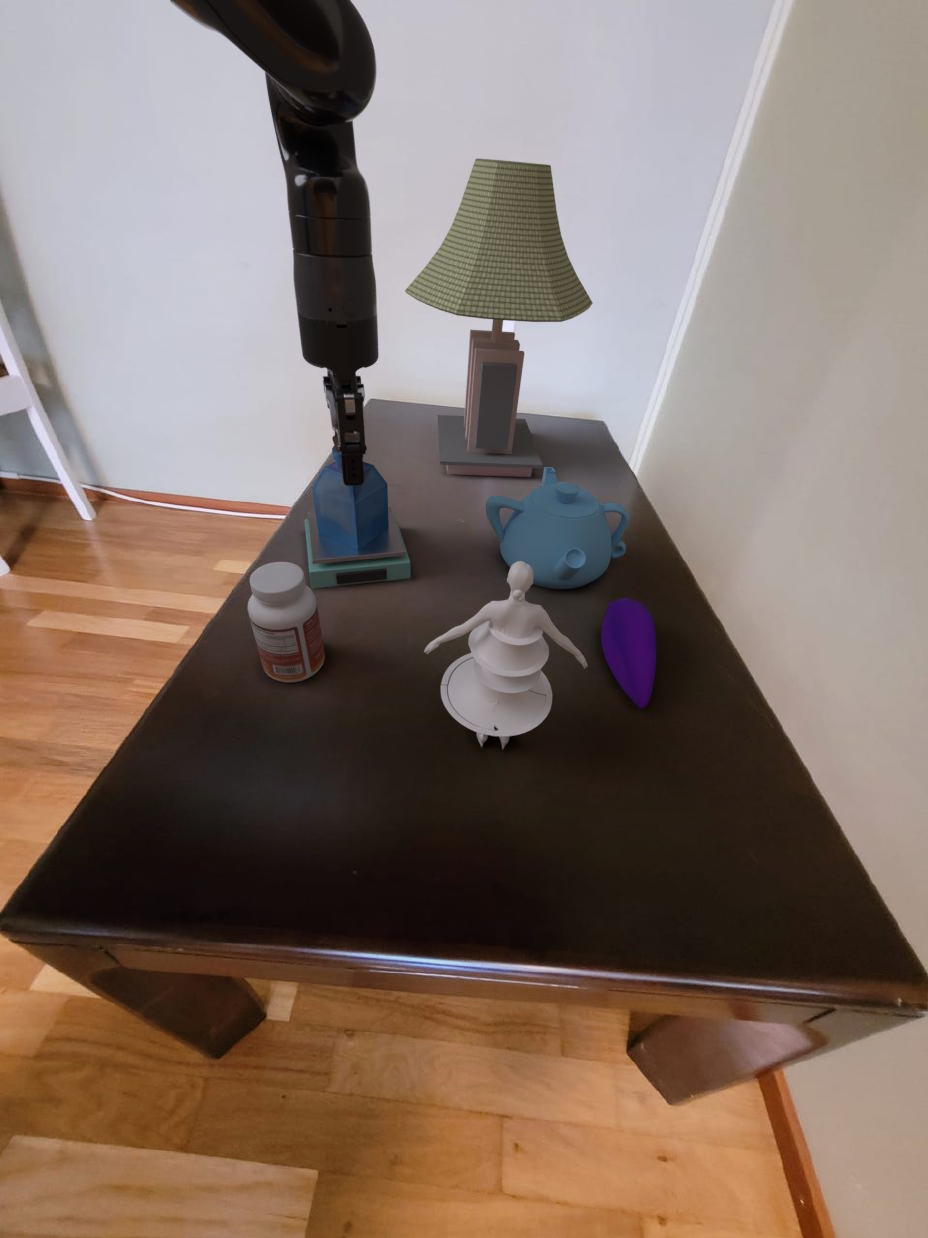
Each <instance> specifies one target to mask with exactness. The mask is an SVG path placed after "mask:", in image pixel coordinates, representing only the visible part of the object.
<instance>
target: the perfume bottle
mask: <svg viewBox="0 0 928 1238" xmlns="http://www.w3.org/2000/svg"><path fill="white" fill-rule="evenodd" d="M331 439H332V442H333V446H332V448H331V452H332V459H333V460H334V462H332V463H330V464H328V465H326V466H324V467H323V468H322V470H321V471H320V474H319V475H318V477H317V479H316V481H315V483H314V484H313V486H312V496H313V503H314V512H316V520H317V528H318V534H320V535H323V536H325V537H327V538H330V539H332V540H335V541H337V542H339V543H342V544H344V545H346V546H349V547H351V548H354V549H356V550H359V549H360V548H362V547H363V546H364V545H366V544H367V543H369V542H370V541H372V540H373V539H374V538H376V537H377V536H379V535H380V534H381V533H383V532H384V531H386V530H387V529H388V528H389V520H388V507H389V493H388V491H389V489H388V488H389V487H388V483H387V481H386V479H384V478H383V476H382V474H381V473H380V472H379V470H378V469H377V468H376V466H375V465H374V464H372V463H369V462H366V461H363V473H364V483H363V484H362V485H353V486H347V485H345V484H344V482H343V475H342V464H341V454H340V452H339V450H338V445H339V441H338V434H336V435H335V434H334V435H333V436H332V437H331ZM345 441H357V433H355V432H354V433H345ZM362 456H363V458H364V457H365V456H364V454H362Z"/></svg>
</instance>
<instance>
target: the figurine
mask: <svg viewBox="0 0 928 1238" xmlns="http://www.w3.org/2000/svg"><path fill="white" fill-rule="evenodd" d="M506 583H507V584H508V585H509V587H510V592H509V597H508V599H504V600H490V602H488V603H487V604H485V605H484V606H482V608H481V609H480V610H479V611H478V612H477V613H476V614H474V615H473V616H472V617H471V618H469V619H468V620H466V621H465V622H464V623H461V624H460V625H457V626H454V627H452V628H451V629H449V630H448V631H446V632H445V633H443V634H442V635H440V636H437V637H436V638H434V640H432V641H430V642H429V643H428V644H427V645H425V646H426V647H425V648H424V651H423V653H426V655H429V654H430V653H431V652H432V651H434V650H436V649H437V648H438V647H440V644H442V643H446V642H448V641H451V640H455V639H457V638H460V637H462V636H464V635H466V634H467V633H469V632H470V634H469V636H468V639H467V640H468V643H467V644H468V645H467V646H468V647H469V649H470V653H466V654H465V655H462V656H461V657H458V658H457V659H456V660H454V661H453V662H452V663H451V664H450V665H448V667H447V668H446V669H445V671H444V673H443V676H442V679H441V682H440V698H441V701H442V703H443V706H444V708H445V709H446V711H447V712H448V713H449V715H450V716H451V717H452V718H453V719H454V720H455V721H457V722H458V723H459V724H460V725H462V726H463V727H465V728H467V729H468V730H471V731H472V732H475V733H476V738H477V740H478V742H479V744H480V748H483V746H484V743H485V742H486V741H487V740H488V738H489V737H488V736H491V737H498V738H499V740H500V744H501V749H502V750H504V749H505V747H506V745H507V744H508V743H509V741H510V737H512V736H513V737H514V736H518V735H522V734H525V733H527V732H529V731H532V730H533V729H535V728H536V727H538V726H539V725H541V724H542V723H543V722H544V720H545V719H546V718H547V717H548V715H549V714H550V712H551V709H552V705H553V690H552V687H551V683H550V681H549V679H548V677H547V676H546V675H545V673H544V672H543V670H542V668H543V667H544V666H546V665H545V664H546V663H547V661H548V659H549V656H550V649H549V648H550V647H549V645H548V643H547V641H546V640H545V638H544V636H543V634H544V633H545V634H546V635H547V636H549V637H550V638H551V639H552V640H553V641H554V642H555V643H556V644H557V645H558V646H559V647H561V648H563V649H564V650H565V651H567V652H568V653H571V654H572V655H574V658H575V659H576V660H577V661H578V663H580V664H581V666H582V668H583V669H586V668H588V663H587V660H586V658H585V656H584V655H583V654H582V652H581V650H579V649H578V648H577V647H576V645H574V644H573V642H572V641H571V640H570V638H569V637H567V636H566V635H564V634H563V633H562V632H560V630H559V629H558V628H557V627H556V625H555V624H554V623H553V621H552V620H551V618H550V616H549V614H548V612H547V611H546V609H544V608H543V606H542V605H540V604H535V603H531V602H528V601H527V600H526V592H528V591H529V590H530V589H531V586H533V585H534V584H533V569H532V568H531V566H530V565H528V564H527V563H525V562H523V561H518V562H516V563H514V564H513V565H512V566H511V568H510V567H509V571H508V574H507V577H506ZM495 728H496V729H495Z"/></svg>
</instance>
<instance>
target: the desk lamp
mask: <svg viewBox="0 0 928 1238" xmlns="http://www.w3.org/2000/svg"><path fill="white" fill-rule="evenodd" d="M404 292H405V293H406V294H407V295H409V296H410V297H412V298H413V299H415V300H416V301H418V302H420V303H423V304H425V305H427V306H429V307H432V308H434V309H437V310H438V311H441V312H445V313H448V314H451V315H455V316H457V317H458V316H459V317H466V318H475V319H483V320H492V324H491V325H492V327H491V330H481V329H469V342H468V343H469V344H468V356H467V357H468V358H467V372H466V373H467V374H466V386H465V389H466V390H465V399H464V416H463V415H447V414H446V415H445V414H437V433H438V451H439V453H438V454H439V465H440V466H446V474H447V475H460V476H461V475H462V476H463V475H465V476H489V477H491V476H493V477H494V476H496V477H517V478H518V477H519V478H532V473H533V469H540V470H541V469H543V468H544V467H543V466H544V464H543V462H542V458H541V457H540V454H539V451H538V448H537V446H536V443H535V440H534V439H533V435H532V432H531V430H530V427H529V425H528V422H527V420H526V418H517V414H518V406H519V398H520V390H521V384H522V376H523V369H524V359H525V351H524V350H520V347H521V343H520V342H519V341H520V340H519V339H516V333H515V332H514V331H503V326H504V321H511V322H527V323H528V322H529V323H562V322H565V321H569V320H571V319H574V318H576V317H577V316H579V315H581V314H584V313H585V312H587V311H588V310H589V309H590V308H591V307H592V305H593V303H594V302H593V301H592V299H591V297H590V296H589V293H588V292H587V290H586V289H585V286H584V285H583V283H582V282H581V279H580V278H579V277H578V275H577V273H576V270H575V268H574V266H573V264H572V262H571V260H570V258H569V255H568V252H567V248H566V246H565V242H564V239H563V237H562V232H561V226H560V221H559V215H558V212H557V203H556V196H555V188H554V179H553V172H552V166H551V165H550V164H545V163H534V162H525V161H513V160H503V159H492V158H491V159H489V158H475V159H474V162H473V165H472V168H471V171H470V174H469V177H468V180H467V183H466V185H465V189H464V192H463V194H462V198H461V201H460V204H459V206H458V208H457V210H456V214H455V216H454V218H453V221H452V223H451V226H450V228H449V230H448V232H447V233H446V236H445V237H444V239H443V240H442V243H441V244H440V245H439V248H438V249H437V250H436V252H435V253H434V254H433V256H432V257H431V259H430V260H429V261H428V262H427V264H426V265H425V266H424V267H423V268H422V270H421V271H420V272H419V274H417V276H416V277H415V278H414V279H413V280H412V282H411V283H410V284H409V285H408V286H407V287H406V289H405V290H404Z"/></svg>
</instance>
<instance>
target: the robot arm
mask: <svg viewBox="0 0 928 1238" xmlns="http://www.w3.org/2000/svg"><path fill="white" fill-rule="evenodd" d="M169 2H170V4H172V5H173V6H174V7H176V9H178V10H179V11H180V12H181V13H182V14H184V15H185V16H187V17H188V18H190V19H191V20H192V21H194V22H195V23H197V24H198V25H200V26H201V27H203V28H205V29H207V30H210V31H212V32H215V33H217V34H218V35H219V34H220V35H221V36H222V37H224V38H225V39H227V41H229V42H230V43H231V44H232V45H234V46H235V47H236V48H237V49H238V50H239V51H241V52H242V53H243V54H244V55H245V56H246V57H247V58H249V59H250V60H251V61H252V62H253V63H254V64H255V65H257V67H259V69H261V70H262V71H264V78H265V85H266V93H267V98H268V103H269V108H270V113H271V118H272V123H273V129H274V132H275V137H276V142H277V147H278V151H279V155H280V159H281V163H282V168H283V172H284V178H285V179H284V180H285V185H286V186H285V187H286V201H287V202H286V203H287V211H288V213H287V215H288V222H289V230H290V239H291V245H292V246H291V247H292V269H293V270H292V274H293V275H292V277H293V289H294V296H295V297H294V298H295V306H296V312H297V313H296V314H297V321H298V330H299V337H300V347H301V354H302V358H303V359H304V361H305V362H306V363H307V364H308V365H311V366H313V367H316V368H319V369H326V374H327V375H323V376H322V385H323V392H324V395H325V402H326V406H327V409H329V415H330V424H331V429H332V431H334V435H336V434H338V441H339V445H338V450H339V452H340V454H341V464H342V475H343V482H344V484H345V485H347V486H353V485H362V484H363V483H364V473H363V462H364V457H363V456H364V455H366V453H367V452H366V451H367V450H368V447H367V445H366V433H365V429H366V424H367V422H366V421H367V420H366V414H365V406H364V405H365V404H364V403H365V399H366V391H365V385H364V383H362V377H361V375H357V371H358V370H360V369H363V368H364V369H367V368H369V367H371V366H374V365H375V364H376V363H377V361H378V360H379V355H380V353H379V328H378V327H379V326H378V300H377V297H378V296H377V280H376V272H375V268H374V267H375V265H374V259H373V236H372V235H373V234H372V212H371V211H372V210H371V199H370V191H369V186H368V183H367V180H366V179H365V177H364V176H363V173H362V172H361V171H360V168H359V165H358V160H357V150H356V139H355V130H354V129H355V128H354V120H356V119H357V118H358V117H360V115H361V114H363V112H364V111H365V110H366V108H367V107H368V105H369V104H370V102H371V100H372V97H373V95H374V92H375V88H376V84H377V73H378V72H377V69H378V68H377V57H376V51H375V46H374V43H373V39H372V37H371V34H370V31H369V29H368V26H367V24H366V22H365V20H364V18H363V17H362V15H361V14H360V12H359V10H358V9H357V7H356V6H355V4H354V3H353V2H352V0H169ZM345 433H354V434H357V441H345ZM362 454H363V456H362Z"/></svg>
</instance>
